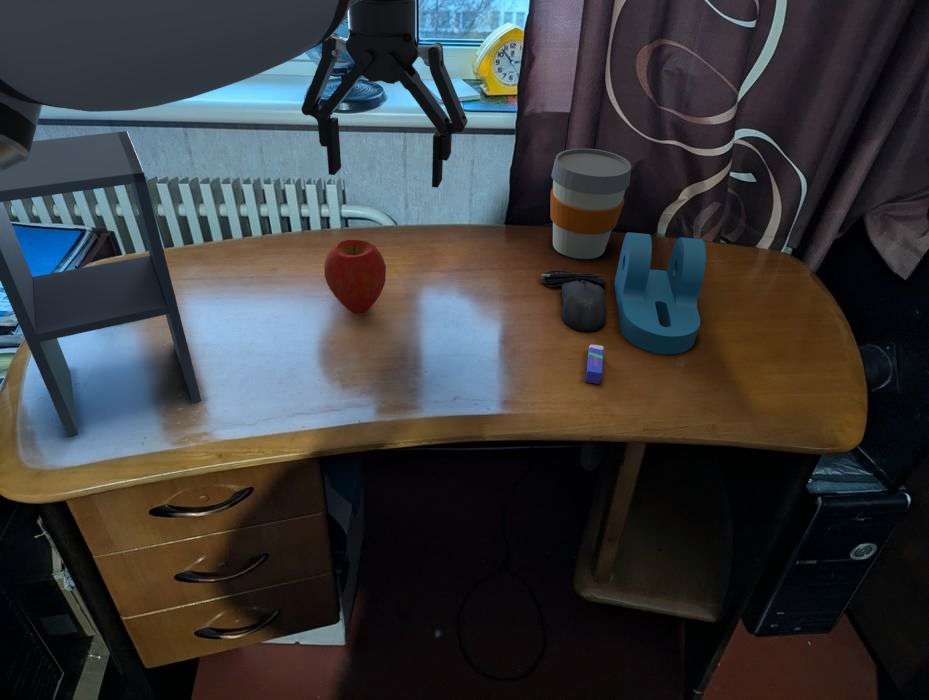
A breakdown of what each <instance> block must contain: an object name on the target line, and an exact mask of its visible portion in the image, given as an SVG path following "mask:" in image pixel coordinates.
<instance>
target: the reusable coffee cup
mask: <svg viewBox="0 0 929 700" xmlns="http://www.w3.org/2000/svg"><path fill="white" fill-rule="evenodd" d="M631 173H632V164H631V162H630V161H629V160H628V159H627V158H625V157H623V156H622V155H619V154H618V153H617V154H616V153H614V152H611V151H608V150H607V151H606V150H603V149H602V150H601V149H595V148H583V147H582V148H571V149H570V148H569V149H567V150H566V149H565V150H563V151H560V152H558V153H557V154H556V156H555V158H554V163H553V167H552V171H551V174H550V176H551V179H552V188H551V189H550V220H551V222H552V247H553V249H554V250H555V251H557V253H559V254H561V255H562V256H566V257H568V258H572V259H579V260H591V259H596V258H599V257H600V256H602V255H603V254H604V252H605V251H606V249H607V246H608V242H609V240H610V237H611V234H612V231H613V230H614V229H615V228H616V227H617V224H618V221H619V218H620V216H621V212H622V209H623V207H624V203H625V197H624V196H625V194H626V193H625V192H626V190H627V189H628V188H629V187H630V183H631Z"/></svg>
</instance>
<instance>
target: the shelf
mask: <svg viewBox="0 0 929 700" xmlns="http://www.w3.org/2000/svg"><path fill="white" fill-rule="evenodd" d="M145 175H146V174H145V172H144V169H143V167H142V164H141V161H140V159H139V156H138V154H137V152H136V149H135V146H134V144H133V142H132V139H131V137H130V135H129V132H128V130H123V131H113V132H105V133H96V134H95V133H94V134H86V135H77V136H68V137H60V138H59V137H58V138H48V139H41V140H33V142H32V146H31V149H30V153H29V157H28V160H27V161H25V162H23V163H21V164H18V165H16V166H14V167H12V168H9V169H7V170H5V171H2V172H0V284H1V286H2V288H3V290H4V293H5V295H6V298H7V300H8V302H9V304H10V306H11V309H12V311H13V314H14V316H15V319H16V320H17V323H18V325H19V327H20V330H21V333H22V335H23V337H24V339H25V341H26V344H27V345H28V349H29V351H30V353H31V355H32V358H33V360H34V363H35V365H36V367H37V369H38V371H39V373H40V376H41V378H42V381H43V383H44V385H45V387H46V390H47V392H48V394H49V397H50V399H51V402H52V403H53V406H54V408H55V411H56V413H57V415H58V418H59V420H60V422H61V425H62V427H63V430H64V431H65V434H66V436H67V437H68V438H70V437H73V436H77V435H78V434H79V432H78V424H77V415H76V407H75V399H74V391H73V390H74V389H73V383H72V382H73V381H72V374H71V373H72V372H71V370H70V367H69V365H68V363H67V360H66V358H65V355H64V352H63V349H62V347H61V345H60V342H59V339H60V338H65V337H69V336H74V335H75V336H76V335H80V334H83V333H88V332H92V331H98V330H102V329H107V328H111V327H116V326H120V325H125V324H129V323H135V322H138V321H143V320H148V319H151V318H157V317H163V316H165V317H166V322H167V325H168V329H169V333H170V336H171V337H170V338H171V340H172V343H173V347H174V351H175V354H176V357H177V360H178V362H179V366H180V369H181V372H182V375H183V377H184V381H185V384H186V387H187V391H188V393H189V396H190V400H191V401H192V404H193V403H197V402H201V401H202V397H201V393H200V389H199V385H198V381H197V377H196V374H195V370H194V365H193V362H192V357H191V353H190V350H189V345H188V341H187V337H186V334H185V330H184V326H183V321H182V318H181V314H180V311H179V306H178V302H177V298H176V294H175V290H174V287H173V282H172V278H171V274H170V271H169V266H168V262H167V258H166V254H165V250H164V246H163V243H162V238H161V235H160V231H159V227H158V223H157V219H156V215H155V211H154V206H153V202H152V199H151V195H150V192H149V191H150V190H149V188H148V183H147V179H146V176H145ZM128 185H130V186H131V190H132V194H133V197H134V202H135V206H136V209H137V213H138V217H139V220H140V224H141V228H142V232H143V236H144V239H145V243H146V247H147V250H148V254H149V255H144V256H140V257H134V258H129V259H123V260H117V261H112V262H107V263H106V262H105V263H101V264H96V265H89V266H84V267H79V268H73V269H68V270H61V271H57V272H56V271H55V272H52V273H45V274H40V275H35V276H33V274H32V272H31V269H30V266H29V264H28V262H27V259H26V256H25V254H24V252H23V249H22V246H21V244H20V241H19V238H18V237H17V233H16V231H15V228H14V227H13V223H12V221H11V218H10V216H9V214H8V211H7V208H6V206H5V204H4V202H5V203H6V202H11V201H19V200H26V199H33V198H39V197H41V198H42V197H48V196H54V195H61V194H71V193H75V192H84V191H91V190H98V189H106V188H112V187H120V186H128Z"/></svg>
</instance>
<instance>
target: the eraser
mask: <svg viewBox="0 0 929 700" xmlns="http://www.w3.org/2000/svg"><path fill="white" fill-rule="evenodd" d="M604 351H605V347H604V346H603V345H599V344H593V343H592V344H591V343H590V344H589V346H588V353H587V360H586V376H585V381H586V383H590V384H596V385H600V384H601V380H602V377H603V371H604Z"/></svg>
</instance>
